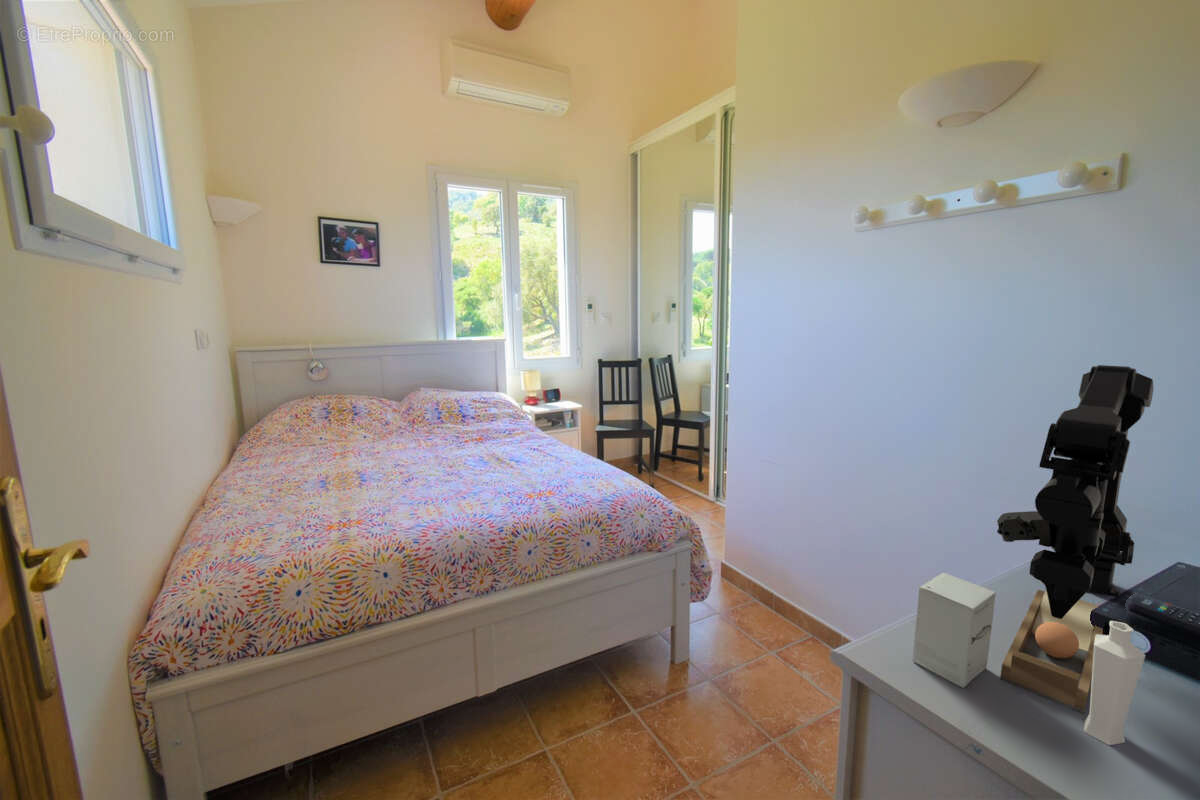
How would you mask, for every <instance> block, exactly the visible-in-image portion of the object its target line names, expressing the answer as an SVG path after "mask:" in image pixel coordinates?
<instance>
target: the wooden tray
mask: <svg viewBox="0 0 1200 800" xmlns="http://www.w3.org/2000/svg"><path fill="white" fill-rule="evenodd" d="M1097 607H1099V608H1100V606H1099V605H1098V604H1095V603H1092V602H1090V601H1084V600H1082V599H1079V600H1078V602H1077V603H1076V604H1075V605H1074V606H1073V607H1072V608H1071V609H1070V610H1069V611H1068V612H1067V614H1066V615H1065V616H1064V617H1063V618H1062V619H1058V618H1055V617H1053V616H1052V615H1051V610H1050V605H1049V600H1048V595H1047V591H1046V589H1044V590H1041V589H1037V591H1036V593H1035V595H1034V597H1033V599H1032V601H1031V604H1030V605H1029V608H1028V610H1027V612H1026V614H1025V616H1024V617H1023V620H1022V622H1021V624H1020V626H1019V629H1018V630H1017V632H1016V635H1015V637H1014V639H1013V640H1012V643H1011V645H1010V647H1009V649H1008V651H1007V652H1006V653H1007V654H1006V655H1005V657H1004V659H1003V662H1002V664H1001V670H1000V678H999V680H1001V681H1004V682H1006V683H1009V684H1011V685H1014V686H1016V687H1019V688H1021V689H1023V690H1026V691H1028V692H1031V693H1034V694H1036V695H1038V696H1041V697H1043V698H1044V699H1047V700H1050V701H1053V702H1056V703H1058V704H1060V705H1063V706H1065V707H1068V708H1070V709H1072V710H1075V711H1077V712H1080V713H1082V714H1085V711H1086V707H1087V703H1088V699H1089V694H1090V692H1091V683H1092V668H1093V653H1094V641H1095V635H1096V634H1100V635H1104V634H1103V629H1102V628H1100V627H1097V626H1096V625H1095V627H1094V626H1093V625H1092V624H1091V621H1090V614H1091V611H1092V610H1093V609H1095V608H1097ZM1046 622H1056V623H1060V624H1063V625H1065V626H1067V627H1068V628H1069V629H1071V630H1072V631H1073V632H1074V633H1075V635H1076V636H1077V638H1078V641H1079V649H1078V651H1077V653H1076V654H1075V655H1074V656H1072V657H1069V658H1056V657H1053V656H1051V655H1049V654H1047V653H1046V652H1044V651H1043V650H1042V649H1041V648H1040V647H1039V645H1038V644H1037V642H1036V639H1035V632H1036V630H1037V628H1038V627H1039V626H1040V625H1041V624H1043V623H1046ZM1093 630H1094V631H1093Z"/></svg>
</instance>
